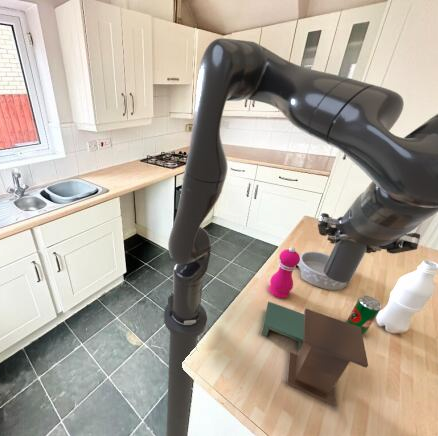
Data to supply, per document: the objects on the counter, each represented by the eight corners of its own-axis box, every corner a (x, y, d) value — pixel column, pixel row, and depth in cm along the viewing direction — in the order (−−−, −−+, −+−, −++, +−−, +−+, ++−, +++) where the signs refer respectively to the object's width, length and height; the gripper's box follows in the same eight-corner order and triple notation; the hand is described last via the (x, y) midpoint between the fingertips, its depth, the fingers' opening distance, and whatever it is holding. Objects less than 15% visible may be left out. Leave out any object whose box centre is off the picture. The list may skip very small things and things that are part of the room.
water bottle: (367, 320, 78) (405, 258, 66) (383, 314, 80) (422, 253, 68) (394, 339, 72) (440, 275, 60) (410, 332, 74) (458, 268, 62)
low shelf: (260, 335, 74) (263, 324, 72) (264, 311, 81) (268, 301, 79) (305, 354, 68) (310, 342, 66) (306, 327, 76) (310, 316, 74)
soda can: (361, 338, 72) (378, 310, 66) (341, 326, 76) (356, 299, 70) (368, 330, 74) (385, 302, 69) (349, 319, 78) (364, 291, 73)
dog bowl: (329, 260, 105) (333, 250, 102) (356, 291, 89) (362, 280, 86) (287, 258, 106) (290, 248, 104) (307, 288, 90) (312, 278, 88)
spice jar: (323, 277, 52) (342, 234, 47) (322, 264, 56) (340, 222, 50) (353, 286, 50) (377, 242, 44) (350, 271, 53) (372, 229, 48)
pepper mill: (264, 291, 89) (276, 247, 80) (272, 282, 94) (285, 239, 84) (284, 303, 85) (300, 257, 75) (292, 292, 89) (308, 247, 79)
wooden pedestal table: (284, 384, 62) (304, 339, 53) (287, 352, 69) (305, 308, 60) (336, 410, 56) (368, 365, 48) (333, 372, 64) (360, 327, 55)
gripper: (456, 205, 33) (400, 238, 47) (330, 184, 41) (314, 218, 55) (444, 255, 32) (390, 273, 46) (317, 224, 40) (304, 248, 54)
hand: (349, 243), depth 51 cm, fingers closed on spice jar, 5 cm apart
